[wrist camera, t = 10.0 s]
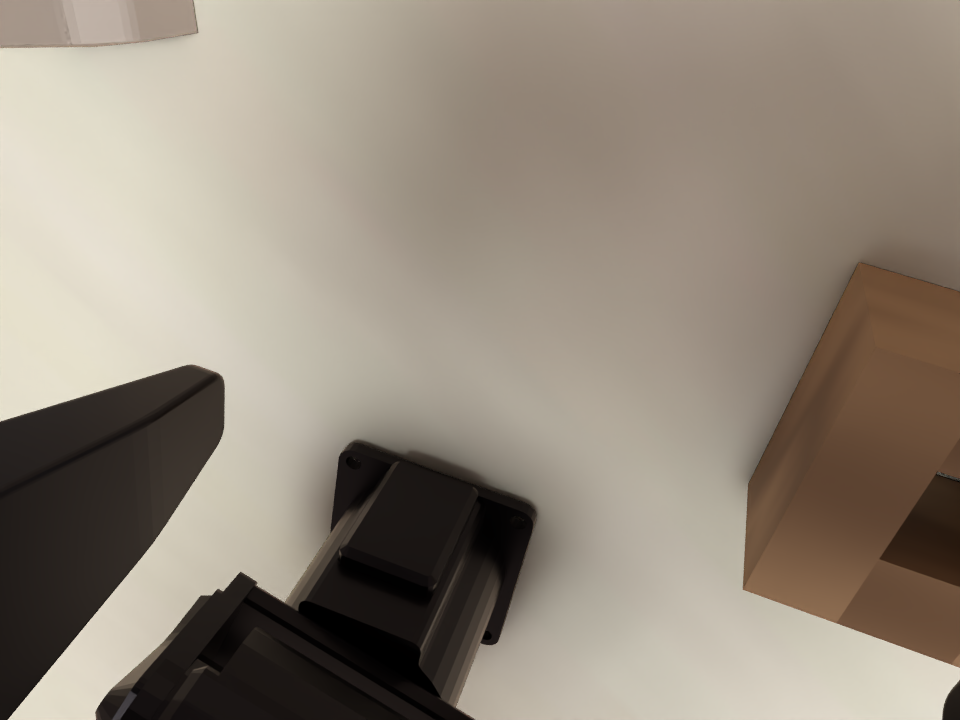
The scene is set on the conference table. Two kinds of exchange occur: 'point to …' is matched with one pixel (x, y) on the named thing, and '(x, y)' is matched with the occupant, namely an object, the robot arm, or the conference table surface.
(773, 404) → the conference table surface
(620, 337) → the conference table surface
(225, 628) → the robot arm
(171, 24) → the hinge
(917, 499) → the pin block
